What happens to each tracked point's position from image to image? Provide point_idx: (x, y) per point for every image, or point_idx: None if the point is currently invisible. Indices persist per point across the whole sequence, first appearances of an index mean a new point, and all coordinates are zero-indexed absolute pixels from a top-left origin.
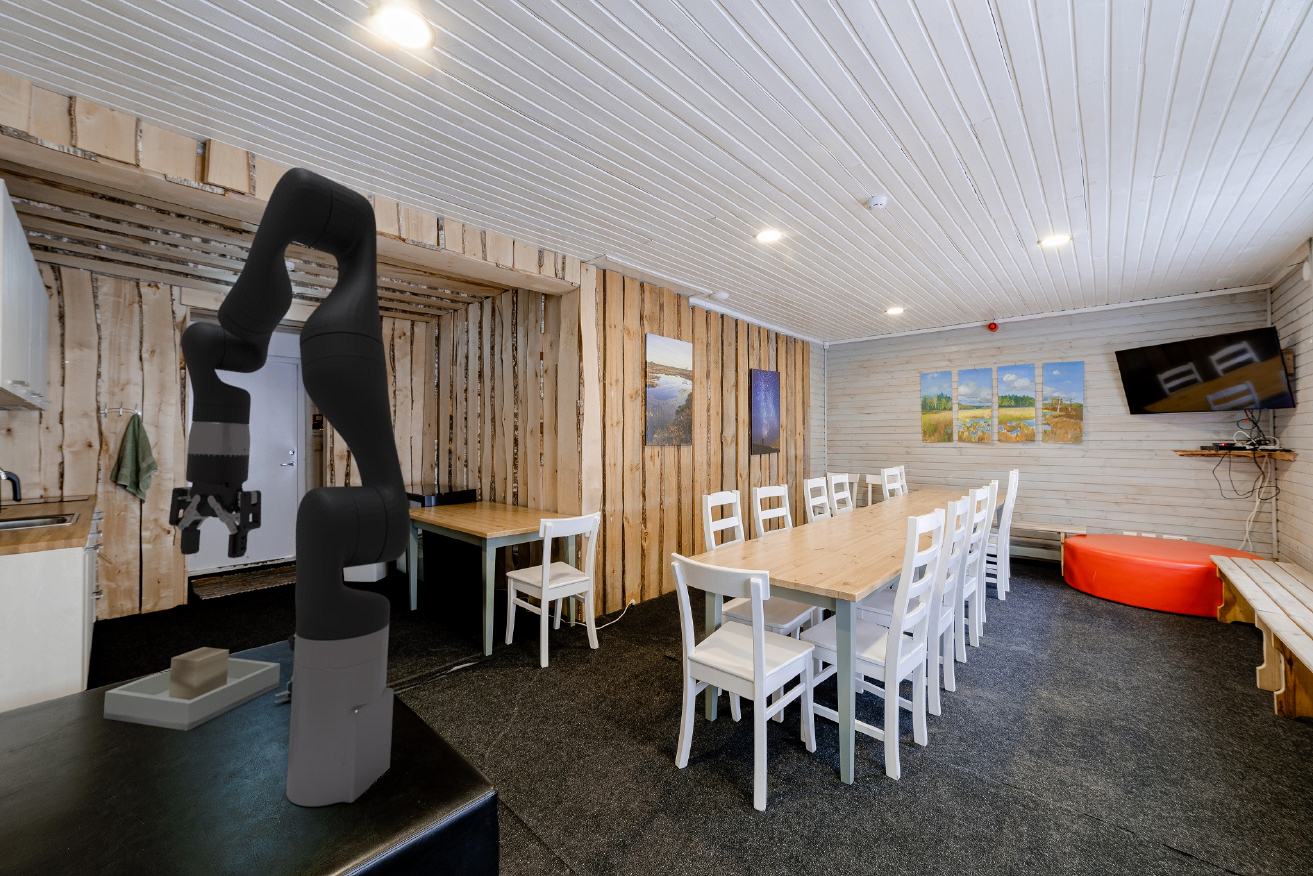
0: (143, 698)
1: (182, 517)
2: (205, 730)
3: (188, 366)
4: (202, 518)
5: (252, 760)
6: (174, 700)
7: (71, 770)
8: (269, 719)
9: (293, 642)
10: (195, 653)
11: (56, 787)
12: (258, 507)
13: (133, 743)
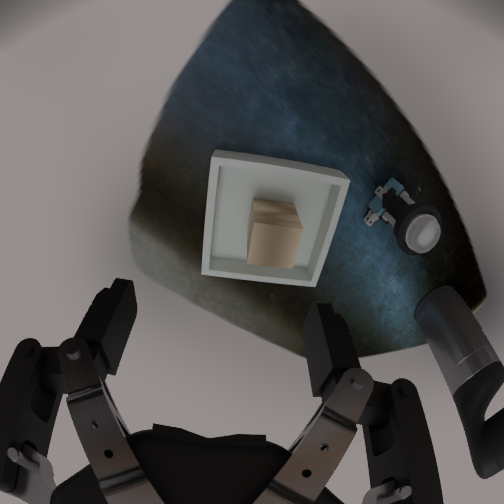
0: (255, 280)
1: (38, 381)
2: (325, 267)
3: None
4: (109, 399)
5: (385, 296)
6: (295, 283)
7: (268, 318)
8: (371, 244)
9: (409, 254)
10: (264, 246)
11: (279, 330)
12: (426, 458)
13: (279, 289)
